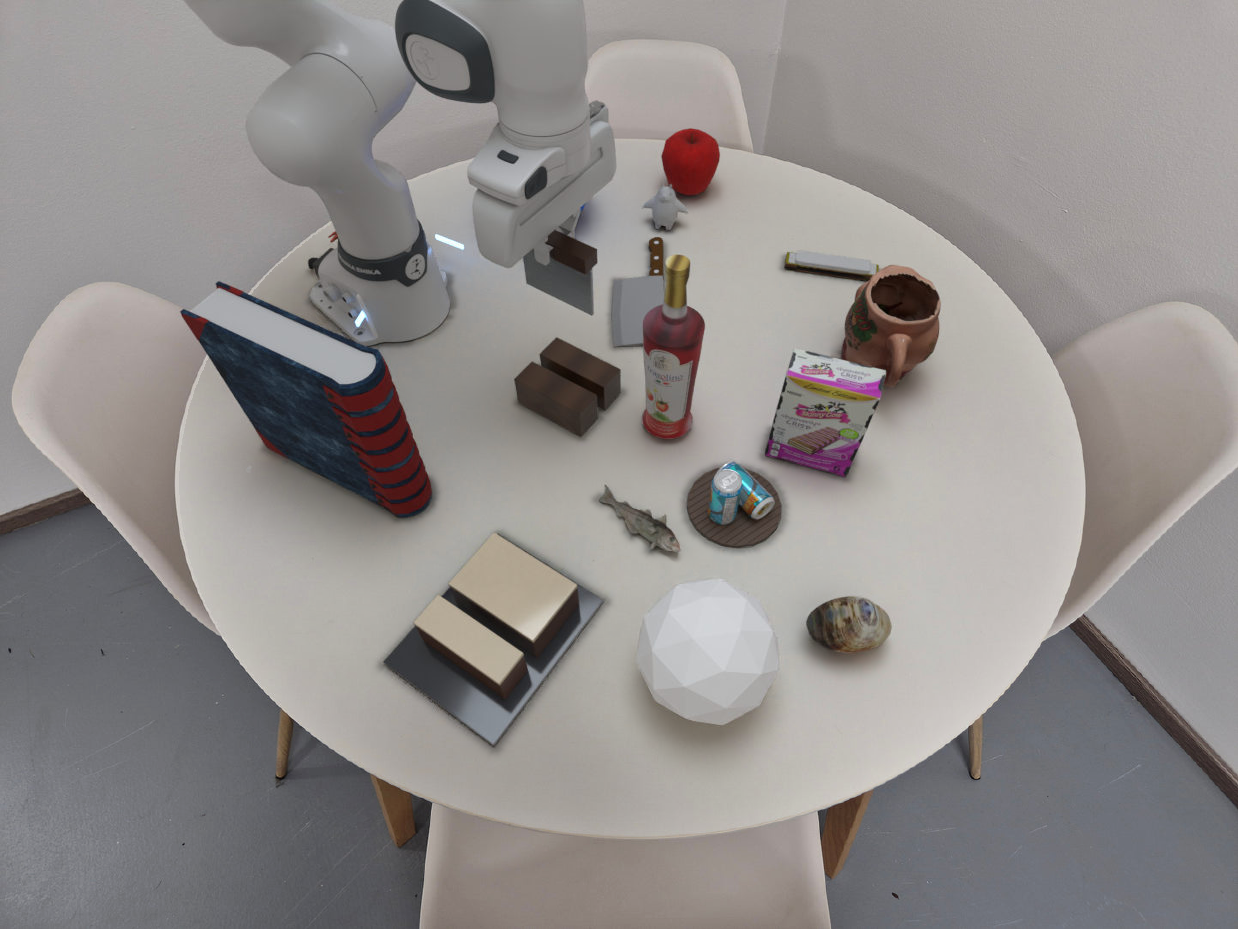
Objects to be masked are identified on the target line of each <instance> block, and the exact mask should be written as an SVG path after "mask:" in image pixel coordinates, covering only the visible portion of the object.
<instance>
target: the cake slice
mask: <svg viewBox="0 0 1238 929" xmlns="http://www.w3.org/2000/svg"><path fill="white" fill-rule="evenodd" d="M441 596H442V595H440V594H437V596H435V598H434V599H432V601H431V602H430V603H429V604H428V605H427V606H426V607H425V609H423V611H422V612H421V613H420V614H419V616H418V617H416V619H414V621H413V624H414V627H415V626H416V628H417V630H418V632H419V634H420V635H421V637H422V639H423V641H425V642H426V643H427V644H429V645H430V646H431V647H433V648H434V649H436V650H437V651H438V652H440V653H441V654H443V655H444V656H445V657H447V658H448V659H450V660H451V661H452V662H454V663H455V664H456V665H458V666H459V667H461V668H462V669H463V670H465V671H466V672H468V673H469V674H470V675H472V676H473V677H474V678H476V679H477V680H479V681H480V682H481V683H483V684H484V685H486V686H487V687H488V688H490V689H491V690H493V691H494V692H495V693H497V694H498V695H499V696H501V697H502V698H504V699H506V698H507V697H508V696H509V694H510V693H511V692H512V690H513V689H514V688H515V686H516V685H517V684H518V683H519V681H520V680H521V679H522V677H523V676H524V675H525V674H526V672H527V671H528V668H527V664H526V661H525V657H524V654H523V652H521V651H520V650H518V649H517V648H515V647H514V646H512V645H511V644H509V643H508V642H507V641H505V640H504V639H502V638H501V637H499V636H498V635H496V634H495V633H493V632H492V631H490V630H489V629H488V628H486V627H485V626H483V625H482V624H480V623H479V622H477V621H476V620H474V619H473V618H472V617H470V616H469V615H467V614H466V613H464V612H463V611H461V610H460V609H458V608H457V607H456V606H454V605H453V604H451V603H450V602H448V601H447V600H445V599H444V598H442V597H441Z"/></svg>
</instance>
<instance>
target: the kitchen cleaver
mask: <svg viewBox="0 0 1238 929" xmlns="http://www.w3.org/2000/svg"><path fill="white" fill-rule="evenodd" d="M648 249H649V250H650V254H649V255H650V256H649V259H650V263H649V264H650V267H651V268H650V269H649V272H648V275H644V276H636V277H629V278H622V279H614V280H613V281H614V282H613V291H612V304H611V330H612V333H611V334H612V344H613V347H614V348H623V347H643V320H644V317H645V316H646V314H647V313H648V312H649V311H650V310H651V309H653V308H655V307H657V306H659V305H663V302H664V296H665V290H664V239H663V238H662V237H661V236H654V237H652V238H651V239H650V240H649V241H648Z"/></svg>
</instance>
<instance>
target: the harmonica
mask: <svg viewBox="0 0 1238 929" xmlns="http://www.w3.org/2000/svg"><path fill="white" fill-rule="evenodd" d="M879 265H880V264H876V263H872V261H871V260H869V259H865V258H861V257H860V258H859V257H853V256H845V255H839V254H831V253H825V252H816V251H809V250H797V251H796V252H792V251H787V252H786V254H785V261H784V269H788V270H795V272H801V273H808V274H816V275H823V276H828V277H829V276H831V277H837V278H844V279H850V280H851V279H852V280H858V281H869V280H870V278H871V277H872V276H873V275H874V274H875V273H877V272H879V271H880V270H879V267H880V266H879Z"/></svg>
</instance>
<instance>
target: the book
mask: <svg viewBox="0 0 1238 929" xmlns="http://www.w3.org/2000/svg"><path fill="white" fill-rule="evenodd" d="M214 284H215V287H216V289H215V290H214V291H213V292H212V293H211V294H209V295H208V296H206V297H205V298H204V299H203V300H202V301H200V302H199V303H198V304H197V305H195V306H194V307H193V308H192V309H190V310H187V309H186V308H183V309H181V310H180V311H179V314H180V315H181V318H182V319H183V321H184V323H185V324H186V325H187V327H188V328H189V330H190V332H191V333H192V334H193V336H194V337H195V339H196V340H197V341H198V343H199V344H200V346H201V347H202V349H203V350H204V352H205V353H206V355H207V356H208V358H209V359H210V361H211V363H212V364H213V366H214V367H215V369H216V371H217V372H218V374H219V375H220V377H221V378H222V380H223V381H224V383H225V385H226V386H227V388H228V389H229V391H230V393H231V394H232V396H233V397H234V398H235V400H236V402H237V404H238V405H239V407H240V408H241V410H242V411H243V413H244V415H245V416H246V417H247V419H248V421H249V423H250V424H251V425H252V427H253V428H254V430H255V432H256V434H257V435H258V436H259V438H260V440H261V442H262V443H263V445H264V446H265V447H266V448H267V449H269V450H270V451H272V452H274V453H276V454H278V455H280V456H282V457H283V458H285V459H287V460H289V461H291V462H294V463H296V464H298V465H300V466H302V467H304V468H306V469H307V470H309V471H311V472H313V473H315V474H317V475H319V476H321V477H323V478H325V479H327V480H328V481H330V482H333V483H335V484H336V485H338V486H340V487H341V488H344V489H346V490H347V491H349V492H352V493H353V494H355V495H358V496H359V497H362V498H363V499H365V500H368V501H369V502H371V503H373V504H375V505H377V506H379V507H381V508H383V509H384V510H386V511H389V512H390V513H392V514H393V515H394V516H395V517H396V518H398V519H401V518H403V519H404V518H405V519H406V518H411V517H414V516H417V515H420V514H421V513H422V512H423V511H425V510H426V509H427V508H428V506H429V505H430V504H431V501H432V500H433V499H432V497H433V488H432V481H431V478H430V477H429V474H428V473H427V470H426V466H425V462H424V460H423V457H422V456H421V454H420V449H419V447H418V443H417V442H416V440H415V438H414V433H413V431H412V428H411V425H410V424H409V421H408V418H407V415H406V412H405V409H404V406H403V404H402V402H401V400H400V396H399V392H398V390H397V388H396V385H395V383H394V381H393V376H392V374H391V371H390V369H389V365H388V364H387V362H386V359H385V358H384V355H382V353H381V352H380V350H379V349H378V348H373V347H370V346H363V345H361V344H359V343H357V342H355V341H354V340H353V339H351V338H348V337H345V336H344V335H342V334H339V333H337V332H334V331H332V330H330V329H328V328H325V327H323V326H321V325H319V324H316V323H314V322H312V321H309V320H307V319H305V318H302V317H301V316H299V315H296V314H294V313H292V312H290V311H287V310H285V309H282V308H281V307H278V306H277V305H274V304H271V303H270V302H267V301H265V300H262V299H260V298H258V297H256V296H253V295H251V294H249V293H247V292H245V291H243V290H241V289H239V288H237V287H234V286H232V285H229V284H227V283H225V282H222V281H220V280H218V281H216V283H214Z"/></svg>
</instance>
